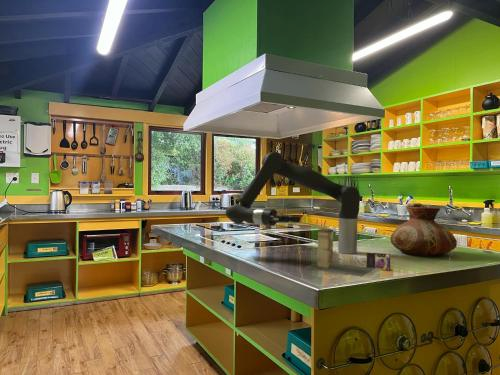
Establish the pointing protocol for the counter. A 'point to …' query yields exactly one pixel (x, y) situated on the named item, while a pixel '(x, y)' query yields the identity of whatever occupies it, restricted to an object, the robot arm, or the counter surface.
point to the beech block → (325, 248)
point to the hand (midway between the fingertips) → (299, 219)
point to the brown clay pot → (423, 233)
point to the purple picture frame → (380, 261)
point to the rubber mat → (342, 269)
